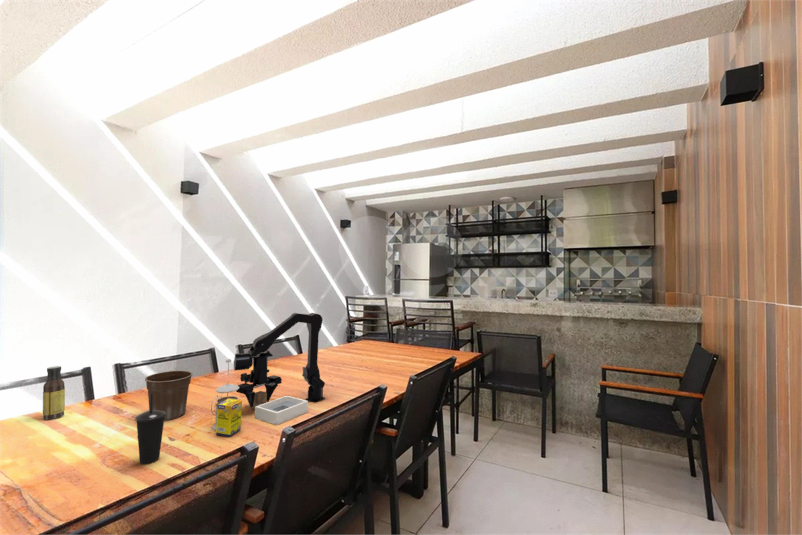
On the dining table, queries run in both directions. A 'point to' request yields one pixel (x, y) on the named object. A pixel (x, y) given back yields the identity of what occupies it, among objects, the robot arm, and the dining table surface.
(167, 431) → the dining table surface
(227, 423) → the supplement box
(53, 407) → the sauce bottle
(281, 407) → the socket plate
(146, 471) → the dining table surface
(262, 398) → the peg
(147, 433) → the drinking cup
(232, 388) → the french press
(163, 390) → the plant pot
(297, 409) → the tray
